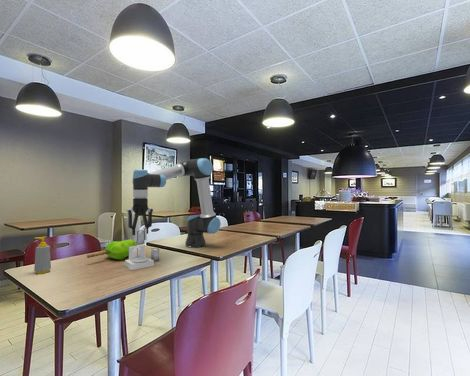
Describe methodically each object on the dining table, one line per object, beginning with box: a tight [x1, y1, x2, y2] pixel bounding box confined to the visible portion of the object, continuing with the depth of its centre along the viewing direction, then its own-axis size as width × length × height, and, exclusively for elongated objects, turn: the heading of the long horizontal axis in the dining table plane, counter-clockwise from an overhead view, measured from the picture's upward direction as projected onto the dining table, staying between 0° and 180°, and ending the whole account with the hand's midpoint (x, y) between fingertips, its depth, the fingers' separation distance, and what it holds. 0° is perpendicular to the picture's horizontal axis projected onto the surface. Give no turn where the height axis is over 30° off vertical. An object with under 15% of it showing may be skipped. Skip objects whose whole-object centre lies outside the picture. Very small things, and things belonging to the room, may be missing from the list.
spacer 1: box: [136, 229, 146, 246], centre depth 142 cm, size 5×5×7 cm
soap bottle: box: [33, 236, 52, 275], centre depth 132 cm, size 7×7×18 cm
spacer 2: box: [150, 247, 160, 263], centre depth 154 cm, size 5×5×7 cm
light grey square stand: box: [124, 244, 155, 271], centre depth 143 cm, size 12×12×10 cm
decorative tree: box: [86, 238, 138, 261], centre depth 157 cm, size 18×10×30 cm
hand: (140, 240), depth 142 cm, fingers closed on spacer 1, 4 cm apart
